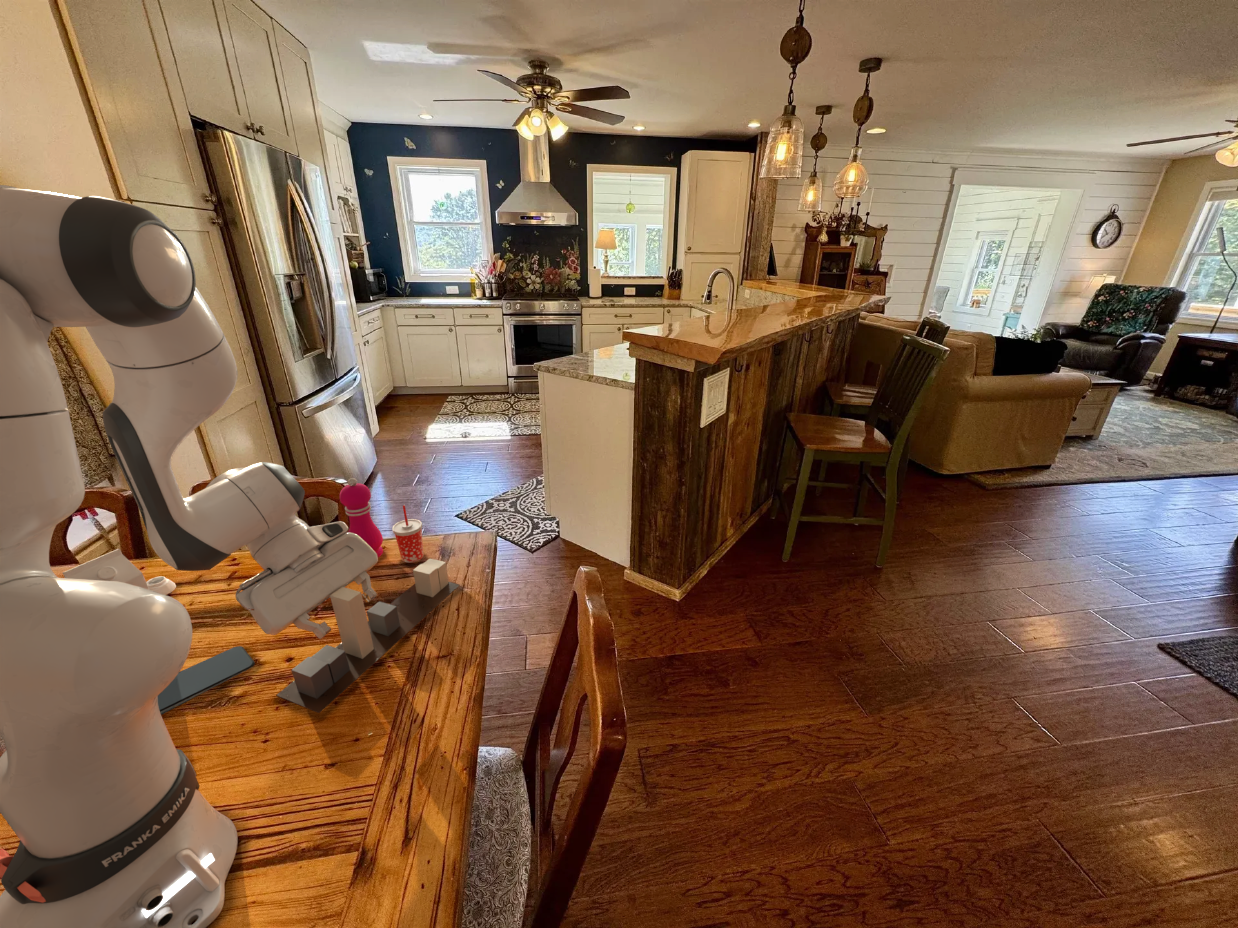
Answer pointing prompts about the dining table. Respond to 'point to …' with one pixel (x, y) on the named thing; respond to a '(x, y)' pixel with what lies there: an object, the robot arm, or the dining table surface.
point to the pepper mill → (361, 514)
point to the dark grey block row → (339, 655)
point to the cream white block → (430, 577)
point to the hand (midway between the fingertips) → (350, 615)
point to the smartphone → (204, 677)
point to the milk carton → (109, 570)
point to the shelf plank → (409, 613)
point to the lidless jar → (161, 585)
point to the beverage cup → (409, 538)
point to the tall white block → (352, 622)
